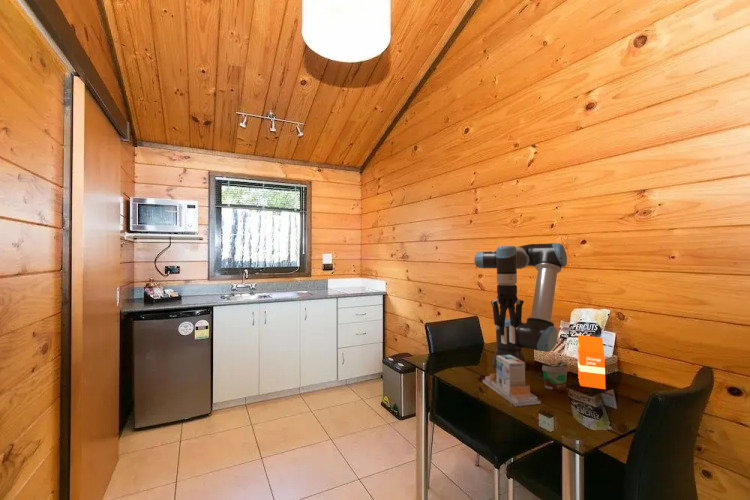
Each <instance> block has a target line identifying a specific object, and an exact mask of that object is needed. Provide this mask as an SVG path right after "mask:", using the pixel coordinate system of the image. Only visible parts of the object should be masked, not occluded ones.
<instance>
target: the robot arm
mask: <svg viewBox="0 0 750 500" xmlns="http://www.w3.org/2000/svg"><path fill="white" fill-rule="evenodd" d="M473 261H474V264H475V266H476V268H479V269H496V283H497V285H496V294H497V296H496V299H495V300H491V301H490V304H491V306H492V313H493V324H494V325H495V338H496V339H495V341H496V344H495V345H496V350H495V352H494V353H495V354H494V356H493V360H492V365H493V367H495V368H496V356H498V355H512V356H514V357H516V358H518V359H519V360H521V361H523V362H525V370H527V363H526V358H525V356H524V354H523V349H528V350H534V351H537V352H546V353H547V352H548V353H549V352H552V351H553V350H554V349H555V347H556V345H557V342H558V333H559V330H558V329H557V327H556V326H555V323H554V322H553V321H552V315H553V308H554V299H555V293H556V285H557V279H558V274H559V273H561V272H562V268H565V267H566V266H567V265H568V256H567V252H566V248H565V246H564V245H563V244H562V243H558V242H551V243H550V242H549V243H528V244H524V245H520V246H514V245H499V246H497V247H496V249H495V250H492V251H478V252H476V253H475V255H474V259H473ZM526 267H535V269H536V270H537V274H536V275H537V276H536V280H535V281H536V282H535V286H534V287H535V289H534V294H533V302H532V307H531V314H530V316H528V317H527V318H526V321H525V322H523V321H522V315H523V313H522V312H523V305H524V302H525V301H524V299H520V298H518V296H517V294H518V285H517V283H518V280H517V279H518V278H517V277H518V275H517V274H518V273H517V270H521V269H525V268H526ZM507 312H508V313H509V315H508V316H509V317H508V318H506V316H507Z"/></svg>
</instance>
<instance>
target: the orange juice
mask: <svg viewBox="0 0 750 500" xmlns="http://www.w3.org/2000/svg"><path fill="white" fill-rule="evenodd" d="M605 360H606V359H605V349H604V341H603V337H601V336H600V337H599V336H588V335H578V336H577V372H578V373H577V375H578V376H577V379H579V380H578V382H579V383H578V384H579V385H580V387H585V388H593V389H594V388H595V389H601V390H606V366H605V365H606V361H605Z"/></svg>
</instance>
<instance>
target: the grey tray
mask: <svg viewBox="0 0 750 500" xmlns="http://www.w3.org/2000/svg"><path fill="white" fill-rule="evenodd" d="M482 383H483V384H484V385H486V386H487V387H489V388H490V389H492V390H493V392H496V393H497V394H499V395H500V396H501V397H503V399H505V400H507V401H508V403H511V404H512V405H514V406H515V407H524V406H533V405H541V404H542V403H541V402H542V401H541V400H540V399H538V396H536V395H535V394H533V393H532V392H531V385H530V384H525V385H521V386H510V387H509V390H508V389H506V388H505V387H504V386H503V385H501V384H500V383H499V382H497V372H496V373H490V374H489V375H488V376H487V375H486V376H485V378H484V379H482Z"/></svg>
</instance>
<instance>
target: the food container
mask: <svg viewBox="0 0 750 500" xmlns="http://www.w3.org/2000/svg"><path fill="white" fill-rule="evenodd" d="M541 367H542V368H541V370H542V372H543V373H542V374H543V382H544V383H543V384H544V390H546V391H550V392H555V393H561V392H562V391H563V392H565V391H566V390H567V377H568V376H567V375H568V372H569V371H570V368H569V365H568V364H567V362H565V361H563V360H560V361H559V362H557V363H552V364H549V365H545V364H542V366H541Z"/></svg>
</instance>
